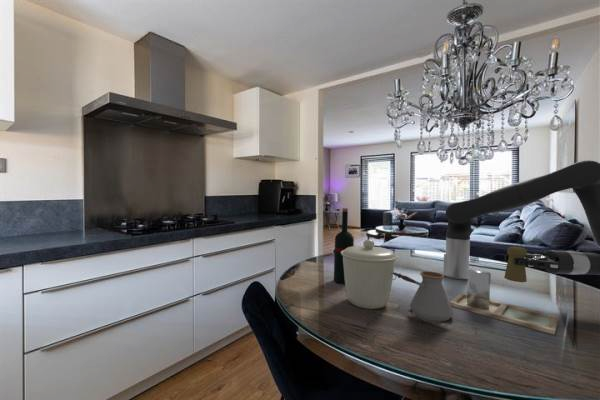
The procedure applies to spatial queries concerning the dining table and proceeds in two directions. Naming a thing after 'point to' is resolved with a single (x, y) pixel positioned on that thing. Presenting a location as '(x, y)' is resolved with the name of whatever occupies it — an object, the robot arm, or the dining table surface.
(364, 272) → the canister
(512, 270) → the olive brown pepper mill
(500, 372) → the dining table surface
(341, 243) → the wine bottle
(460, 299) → the wooden tray
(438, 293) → the coffee pot
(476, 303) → the clear glass tumbler
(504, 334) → the dining table surface
